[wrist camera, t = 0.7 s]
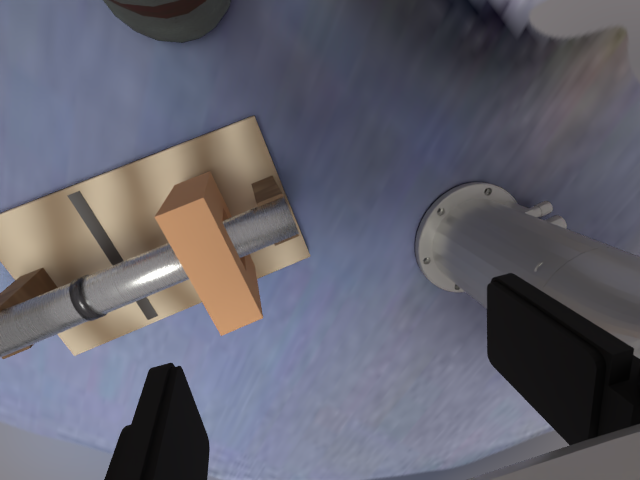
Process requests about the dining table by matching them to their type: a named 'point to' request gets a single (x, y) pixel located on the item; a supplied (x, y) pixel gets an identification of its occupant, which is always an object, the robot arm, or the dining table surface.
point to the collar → (210, 252)
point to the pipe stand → (135, 226)
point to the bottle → (170, 17)
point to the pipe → (131, 281)
